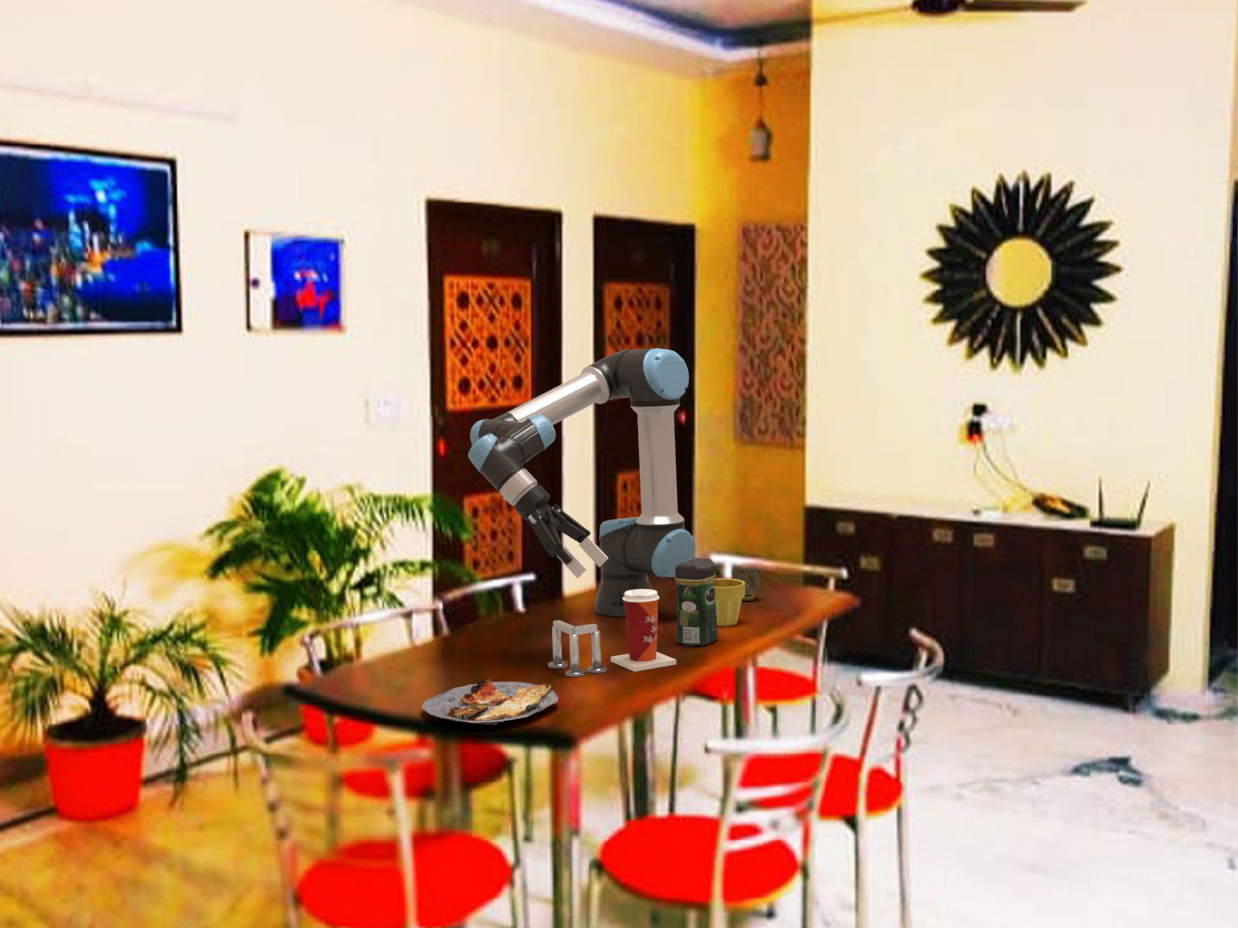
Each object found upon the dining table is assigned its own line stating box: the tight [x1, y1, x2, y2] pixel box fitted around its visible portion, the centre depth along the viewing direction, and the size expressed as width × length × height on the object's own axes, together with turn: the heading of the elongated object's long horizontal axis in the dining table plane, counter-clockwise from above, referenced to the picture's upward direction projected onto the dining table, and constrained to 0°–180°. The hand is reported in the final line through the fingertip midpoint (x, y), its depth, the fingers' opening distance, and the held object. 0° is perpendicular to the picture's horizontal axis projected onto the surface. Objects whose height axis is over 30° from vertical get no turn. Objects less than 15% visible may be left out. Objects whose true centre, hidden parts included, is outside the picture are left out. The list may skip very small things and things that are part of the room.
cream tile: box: [610, 651, 677, 672], centre depth 272 cm, size 10×10×1 cm
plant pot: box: [715, 578, 745, 627], centre depth 306 cm, size 10×10×10 cm
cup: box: [731, 566, 762, 602], centre depth 331 cm, size 8×7×8 cm
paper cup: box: [623, 589, 660, 661], centre depth 271 cm, size 8×8×14 cm
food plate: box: [421, 678, 560, 726], centre depth 241 cm, size 25×23×4 cm
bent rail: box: [547, 619, 607, 678], centre depth 268 cm, size 12×9×10 cm
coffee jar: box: [674, 557, 719, 647], centre depth 288 cm, size 10×8×19 cm
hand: (593, 568), depth 274 cm, fingers open, 13 cm apart
